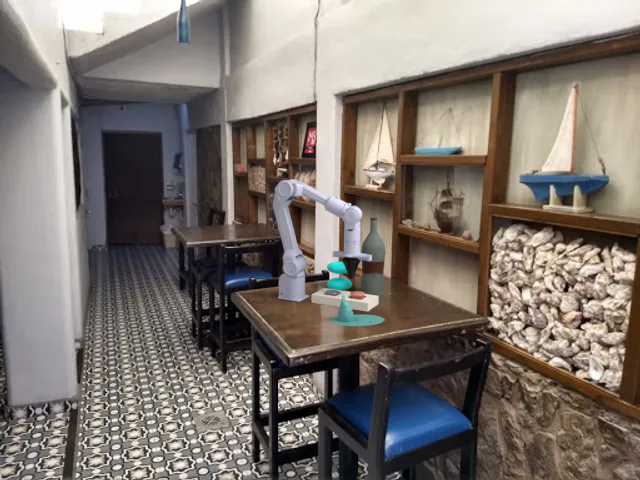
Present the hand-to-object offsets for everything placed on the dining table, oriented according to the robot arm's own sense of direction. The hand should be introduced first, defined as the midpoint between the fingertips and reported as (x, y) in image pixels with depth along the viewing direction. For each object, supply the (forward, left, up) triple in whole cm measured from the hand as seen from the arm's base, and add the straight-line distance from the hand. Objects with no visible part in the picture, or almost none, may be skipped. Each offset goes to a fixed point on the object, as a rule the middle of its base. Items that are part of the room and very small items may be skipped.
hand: (351, 278), depth 172 cm
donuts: (-13, +17, -10) cm, 24 cm away
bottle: (+3, +13, -10) cm, 17 cm away
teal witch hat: (+9, -15, -10) cm, 20 cm away
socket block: (-2, -1, -9) cm, 10 cm away
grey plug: (-7, -1, -9) cm, 11 cm away
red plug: (+3, -1, -8) cm, 8 cm away
